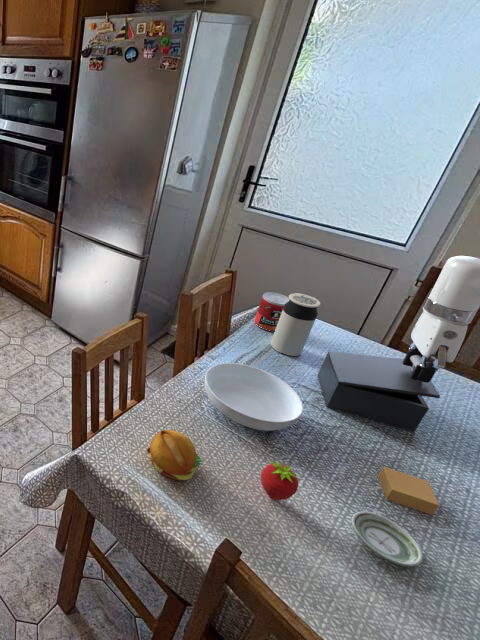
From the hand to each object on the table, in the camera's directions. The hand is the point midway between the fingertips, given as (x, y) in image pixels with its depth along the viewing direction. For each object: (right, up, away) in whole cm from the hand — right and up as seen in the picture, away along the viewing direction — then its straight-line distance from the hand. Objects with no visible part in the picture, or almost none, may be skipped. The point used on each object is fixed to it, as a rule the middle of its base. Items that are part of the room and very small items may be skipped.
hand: (415, 372), depth 100 cm
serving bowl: (-38, -12, +6) cm, 40 cm away
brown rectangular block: (-19, -21, -15) cm, 32 cm away
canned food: (-8, +5, +40) cm, 41 cm away
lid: (-5, -1, +4) cm, 7 cm away
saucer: (-32, -26, -23) cm, 47 cm away
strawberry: (-46, -22, -15) cm, 54 cm away
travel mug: (-10, -1, +28) cm, 30 cm away
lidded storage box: (-5, -10, +8) cm, 14 cm away
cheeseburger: (-64, -19, -8) cm, 67 cm away
